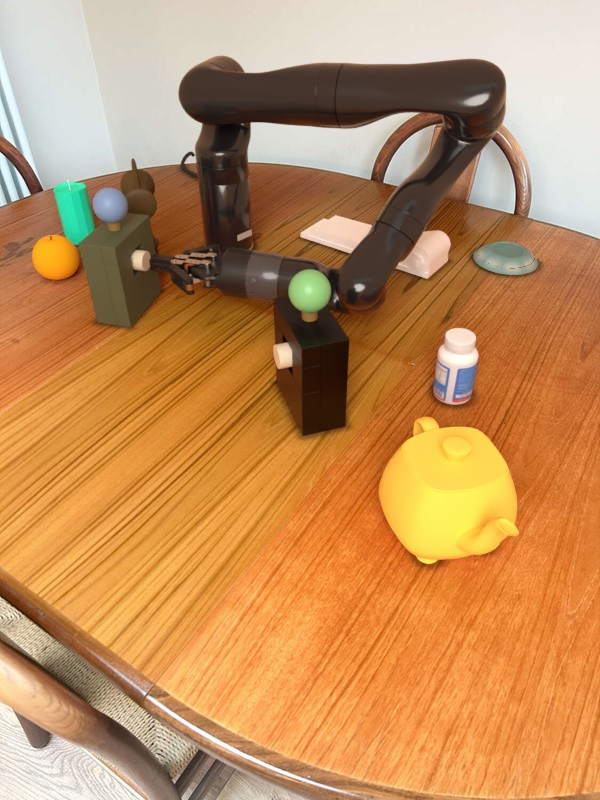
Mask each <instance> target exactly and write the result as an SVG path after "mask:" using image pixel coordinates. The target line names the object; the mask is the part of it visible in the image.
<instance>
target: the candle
mask: <svg viewBox="0 0 600 800" xmlns="http://www.w3.org/2000/svg"><path fill="white" fill-rule="evenodd" d="M53 194H54V198H55V202H56V206H57V210H58V213H59V218H60V222H61V227H62V229H63V233H64V237H65V238H67V239H69V240H70V241H71V242H72V243H73V244H74V245H75V246H79V243H80V242H81V241H82V240H83V239H84V238H86V237H87V236H88V235H89V234H90V233H91V232H93V231H94V230H95V229H96V225H95V219H94V216H93V212H92V207H91V202H90V198H89V193H88V189H87V186H86V184H85V183H84V182H75V181H69V179H68V178H67V181H65V182H62V183H59V184H57V185H55V186H54V188H53Z"/></svg>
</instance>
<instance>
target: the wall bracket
mask: <svg viewBox="0 0 600 800" xmlns="http://www.w3.org/2000/svg"><path fill="white" fill-rule="evenodd" d="M372 225H373V224H370V223H369V224H368V223H365V222H362V221H358V220H354V219H351V218H347V217H343V216H340V215H337V214H335V215H333V216H332V217H330V218H329V219H328V218H324V217H323V218H322V219H320V220H319V221H317V222H315V223H313V224H312V225H311V226H309V227H308V228H306V229H304V230H302V231H301V232H300V238H302V239H305V240H308V241H311V242H315V243H317V244H320V245H322V246H323V245H324V246H326V247H329V248H332V249H335V250H338V251H342V252H345V253H348V254H349V255H350V254H351V252H352V251H353V250H354V249H355V248H356V246H357V245H358V244H359V243H360V242H361V240H362V239H363V238H364V237H365V236H366V235H367V234H368V233H369V231H370V229H371V227H372ZM450 250H451V238H450V237H449V236H448V234H447V233H445V232H444V231H442V230H439V229H436V230H427V231H426V230H425V231H424V232H423V234H422V235H421V237H420V239H419V240H418V242H417V244H416V245H415V247H414V249H413V250H412V252H411V253H410V254H409V256H408V257H407V258H406V259H405V260H404V261H402V262H399V264H398V265H397V267H396V268H395V270H398V271H402V272H405V273H408V274H411V275H414V276H417V277H419V278H420V277H421V278H424V279H426V280H428V279H430V277H432V276H433V275H434V274H435V273H436V272H437V271H438V270H439V269H441V268H442V267H443V266H444V265H445V264H446V263H448V261H449V252H450Z"/></svg>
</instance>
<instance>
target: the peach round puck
mask: <svg viewBox="0 0 600 800" xmlns="http://www.w3.org/2000/svg"><path fill="white" fill-rule="evenodd" d="M130 257H131V262H132V267H133V270H139V271H148V269H149V268H150V262H149V259H150V258H151V256H150V253H149V252H148V251H143V250H134V251H133V252H132V253H131V254H130Z"/></svg>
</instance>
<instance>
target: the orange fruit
mask: <svg viewBox="0 0 600 800" xmlns="http://www.w3.org/2000/svg"><path fill="white" fill-rule="evenodd" d="M31 257H32V258H31V259H32V260H31V261H32V265H33V267H34V268H35V271H37V272H38V274H40V276H42V277H43V278H45V279H47V280H54V281H59V280H60V281H61V280H66V279H68V278H69V277H71V276H73V275H75V273H76V272H77V270H78V269H79V267H80V261H81V259H80V253H79V250H78V248H77V245H74V244H73V243H72V242H71V241H70V240H69V239H67V238H65V236H63V235H61V234H60V235H59V234H49V235H45V236H42V237H41V238H40V239H38V241H36V243H35V245H34V246H33V248H32V252H31Z"/></svg>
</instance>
